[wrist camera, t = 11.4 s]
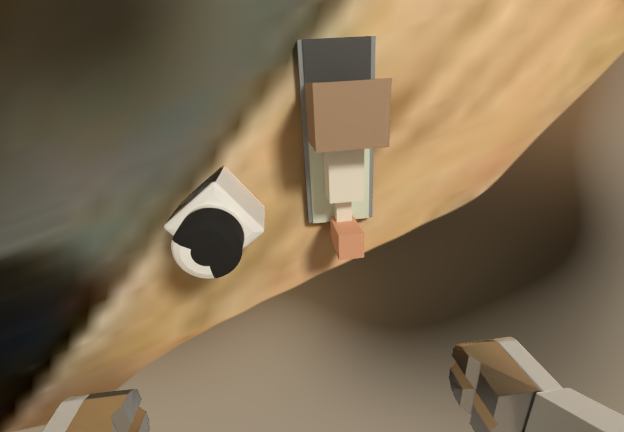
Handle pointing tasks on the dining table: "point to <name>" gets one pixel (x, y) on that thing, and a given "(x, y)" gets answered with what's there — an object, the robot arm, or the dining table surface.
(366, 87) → the tunnel board
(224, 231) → the medicine bottle
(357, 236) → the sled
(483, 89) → the dining table surface
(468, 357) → the robot arm
